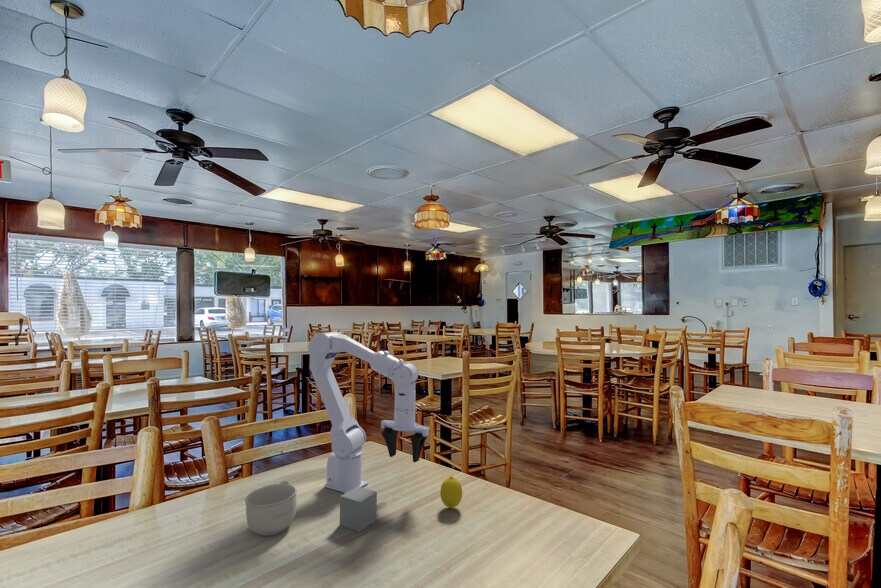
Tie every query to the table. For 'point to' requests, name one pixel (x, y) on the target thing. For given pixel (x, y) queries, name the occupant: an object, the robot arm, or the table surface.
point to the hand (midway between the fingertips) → (404, 458)
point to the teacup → (271, 508)
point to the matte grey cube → (358, 508)
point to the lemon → (451, 492)
